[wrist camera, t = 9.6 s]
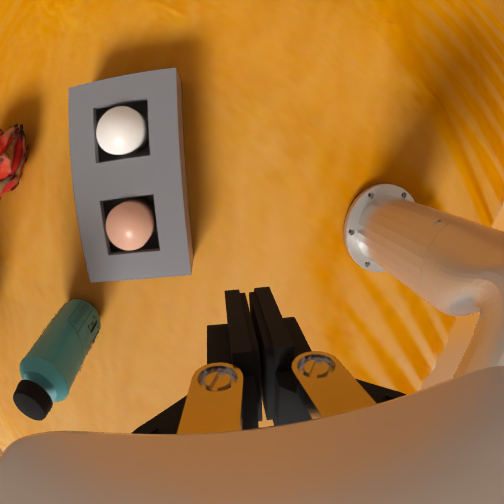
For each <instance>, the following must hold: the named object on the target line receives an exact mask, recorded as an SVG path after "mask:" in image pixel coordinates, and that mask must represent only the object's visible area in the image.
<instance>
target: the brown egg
mask: <svg viewBox="0 0 504 504" xmlns="http://www.w3.org/2000/svg"><path fill="white" fill-rule="evenodd" d="M156 226H157V222H156V214H155V209H154V207H153V206H152V204H151V203H149V202H148V201H147V200H145V199H142V198H131V199H128V200H126V201H124V202H123V203H121V204H119V205H118V206H116V207H114V208H113V209H112V210H111V212H110V213H109V215H108V217H107V220H106V232H107V235H108V237H109V239H110V241H111V242H112V243H113V244H114V245H115V246H117V247H118V248H120V249H123V250H128V251H129V250H136V249H138V248H140V247H142V246H143V245H144V244H145V243H146V242H147V240H148V239H149V238H150V236H151V235H152V233H153V232H154V230H155V228H156Z"/></svg>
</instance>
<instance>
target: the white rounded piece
mask: <svg viewBox="0 0 504 504" xmlns="http://www.w3.org/2000/svg"><path fill="white" fill-rule="evenodd" d="M96 137H97V141H98V143H99V145H100V146H101V148H102V149H103V150H104V151H106V152H108V153H110V154H115V155H127V154H133V153H136V152H138V151H139V150H141V149H142V148H143V147H144V146H145V145H146V143H147V141H148V139H149V127H148V121H147V119H146V118H145V117H144V116H143V115H142V114H140V113H139V112H137V111H135V110H133V109H132V108H129V107H126V106H118V107H114V108H112V109H110V110H108V111H107V112H106V113H105V114H104V115H103V116H102V117H101V119H100V120H99V122H98V125H97V130H96Z"/></svg>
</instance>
